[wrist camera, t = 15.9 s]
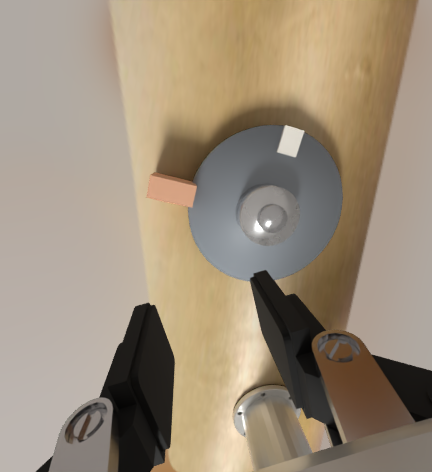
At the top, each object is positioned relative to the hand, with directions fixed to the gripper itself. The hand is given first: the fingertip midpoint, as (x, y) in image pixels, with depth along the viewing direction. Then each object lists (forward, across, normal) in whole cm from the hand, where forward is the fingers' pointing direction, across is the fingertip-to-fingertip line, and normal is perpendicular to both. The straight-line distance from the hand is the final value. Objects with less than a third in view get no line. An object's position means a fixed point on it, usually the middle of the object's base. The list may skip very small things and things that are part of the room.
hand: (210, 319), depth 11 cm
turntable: (+23, -7, +1) cm, 24 cm away
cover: (+21, -8, +2) cm, 23 cm away
